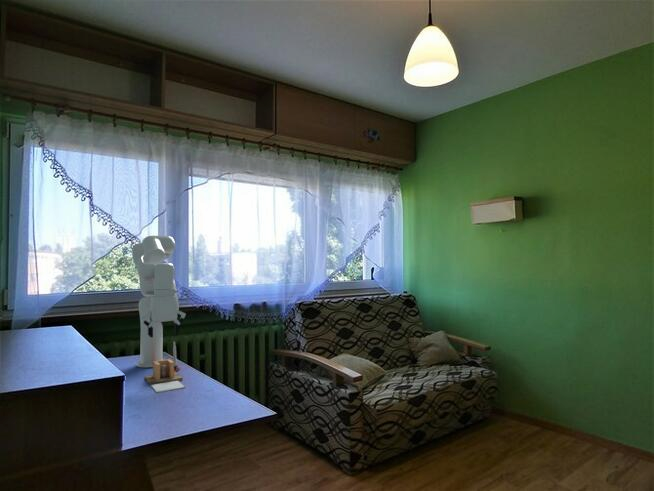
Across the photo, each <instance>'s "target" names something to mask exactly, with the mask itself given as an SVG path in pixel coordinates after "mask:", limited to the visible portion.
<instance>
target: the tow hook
mask: <svg viewBox="0 0 654 491" xmlns="http://www.w3.org/2000/svg"><path fill="white" fill-rule="evenodd" d="M172 345H173V346H172V351H173V354H172V355H173V359H172V361H173V362H174V371H175V372H176V373H177V372H178V371H179V370H180V369H181V366H179V364H178V359H177V346H176V342H175V341H172Z"/></svg>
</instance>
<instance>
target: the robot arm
mask: <svg viewBox="0 0 654 491" xmlns="http://www.w3.org/2000/svg"><path fill="white" fill-rule="evenodd" d="M175 249H176V242H175V240H174V238H173V237H172V236H170V235H149V236H145V237H144V238H143V239H142V242H139V243H136V244H134V245H133V246H132V249H131V253H132V260H133V263H134V266H135V267H136V270H137V274H138V278H139V287H140V288H139V289H140V290H139V291H140V293H141V295H142V296H143V297H141V299H140V300H139V302H138V312H139V321H140V345H139V346H140V353H139V354H140V355H139V356H140V357H139V358H140V359H139V360H140V361H138V362H136V367H138V368H147V369H148V368H153V361H159V360H165V359H163V356H164V355H163V354H164V353H163V351H164V350H163V346H164V345H163V342H164V341H163V338H164V337H163V334H164V333H163V332H164V330H163V329H164V327H163V322H165V323H166V322H173V323H174V325H173V326H174V327H173V335H175V336H177V335H179V333H180V325H181V323H182V322H183V321H184V320H185V318H186V315H187V314H186V312H183V311H181V310H179V308H180V304H179V297H178V289H177V285H176V281H175V279H174V278H175V273H176V269H175V267H174V264H173V263H169V262H164V261H165V260H168V259H170V258H171V256H172V255H173V254H174V252H175ZM178 315H180V318H179V319H178Z"/></svg>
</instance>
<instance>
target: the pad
mask: <svg viewBox="0 0 654 491" xmlns="http://www.w3.org/2000/svg"><path fill="white" fill-rule="evenodd" d="M150 387H151V388H152V389H153V390H154V391H155V393H164V392H168V391H169V392H170V391H174V390H179V389H180V390H181V389H185V388H186V386H185V385H184V384H183V383H182V382H180V381H173V382H167V383H160V384H154V385H150Z"/></svg>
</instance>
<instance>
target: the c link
mask: <svg viewBox="0 0 654 491" xmlns="http://www.w3.org/2000/svg"><path fill="white" fill-rule="evenodd" d="M161 365H166V375H168V376H169V377H170V378H173V377H174V362H173V359H170V358H169V359H167V358H166V359H164V360H159V361H153V367H152V375H153V377H154V378H155V379H156V380H160V376H161Z"/></svg>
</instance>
